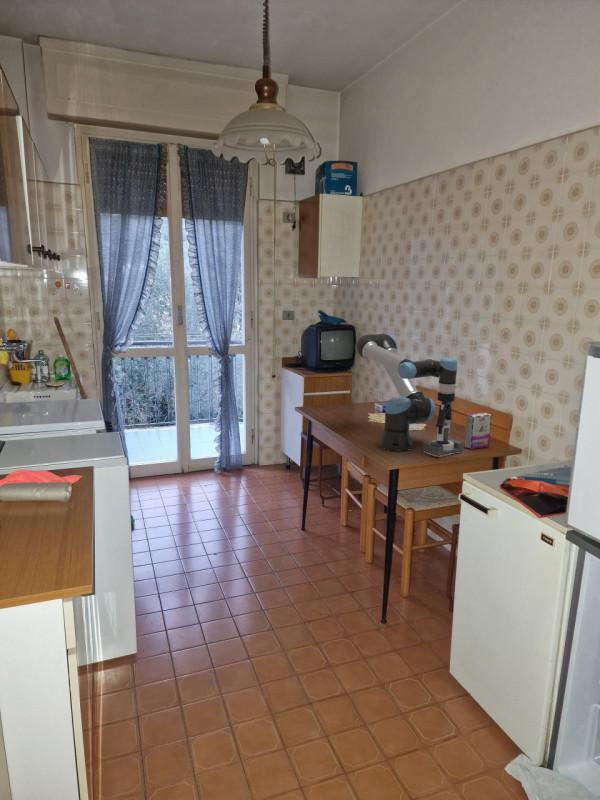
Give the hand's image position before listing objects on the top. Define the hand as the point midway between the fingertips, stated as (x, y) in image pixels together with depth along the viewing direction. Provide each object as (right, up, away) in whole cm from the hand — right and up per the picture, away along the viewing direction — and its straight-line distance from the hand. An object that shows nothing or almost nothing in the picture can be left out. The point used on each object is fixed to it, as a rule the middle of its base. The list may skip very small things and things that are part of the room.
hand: (443, 436), depth 251 cm
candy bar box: (+19, -6, +11) cm, 23 cm away
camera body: (0, -7, +2) cm, 8 cm away
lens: (0, -5, +1) cm, 5 cm away
